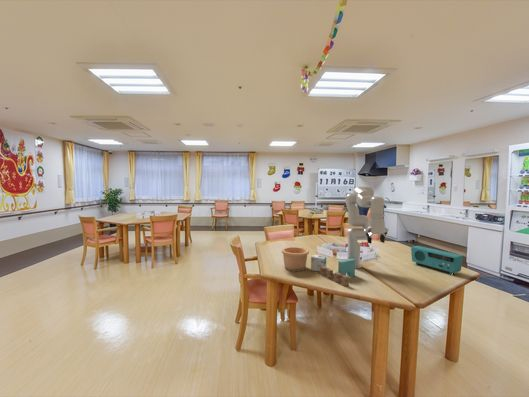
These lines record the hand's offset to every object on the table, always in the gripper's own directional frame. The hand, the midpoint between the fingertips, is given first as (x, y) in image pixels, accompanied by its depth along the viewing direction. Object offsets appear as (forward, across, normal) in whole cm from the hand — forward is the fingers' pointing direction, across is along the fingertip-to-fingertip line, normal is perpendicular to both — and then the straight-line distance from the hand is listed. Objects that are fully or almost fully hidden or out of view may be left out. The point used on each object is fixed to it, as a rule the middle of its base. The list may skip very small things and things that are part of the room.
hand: (375, 242), depth 154 cm
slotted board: (+30, +20, -18) cm, 40 cm away
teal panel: (+30, +7, -21) cm, 37 cm away
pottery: (+30, +37, -48) cm, 67 cm away
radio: (+30, -72, -20) cm, 81 cm away
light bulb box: (+30, +21, -38) cm, 53 cm away
